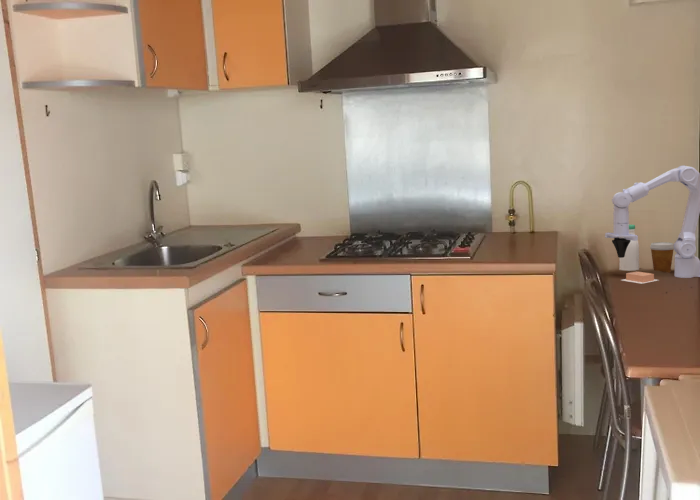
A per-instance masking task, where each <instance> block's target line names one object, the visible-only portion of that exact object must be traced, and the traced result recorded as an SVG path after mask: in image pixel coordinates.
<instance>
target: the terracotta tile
mask: <svg viewBox="0 0 700 500" xmlns="http://www.w3.org/2000/svg"><path fill="white" fill-rule="evenodd" d="M625 279H626V280H631V281H637V282H648V281H653V280H654V279H655V273H650V272H644V271H643V272H642V271H638V270H635V271H631V272H627V273H625ZM653 282H654V281H653ZM648 283H649V282H648Z"/></svg>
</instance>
